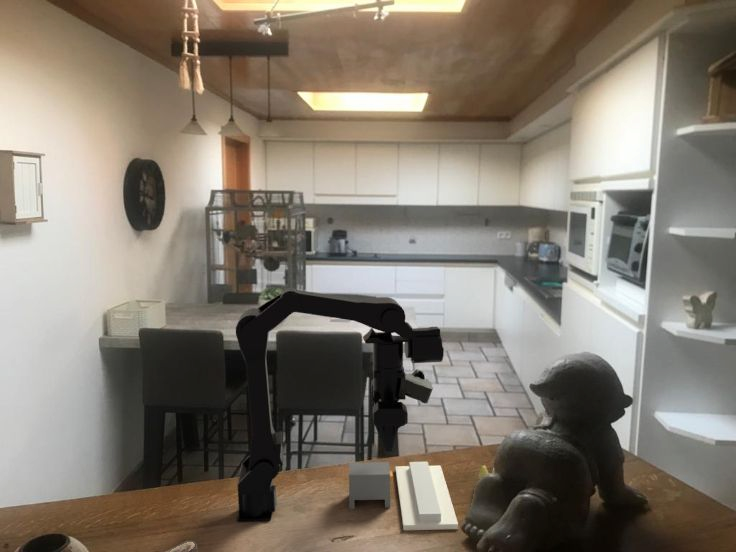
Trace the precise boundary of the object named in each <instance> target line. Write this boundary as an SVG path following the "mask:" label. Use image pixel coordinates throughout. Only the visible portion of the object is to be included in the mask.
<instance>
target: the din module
mask: <svg viewBox="0 0 736 552" xmlns="http://www.w3.org/2000/svg"><path fill="white" fill-rule="evenodd" d="M390 469H391V468H390V463H389V461H381V462H379V461H375V462H374V461H370V462H367V461H366V462H349V463H348V495H349V497H348V501H349V505H348V506H349V509H350V510H351V509H353V510H354V509H355V506H356V505H355V504H356V502H355V501H366V500H367V501H370V500H374V501H375V500H384V508H385V509H390V508H391V485H393V484H394V482H393V481H394V480H393V479H394V477H393V476H394V475H393V471H392V470H390Z"/></svg>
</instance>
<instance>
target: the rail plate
mask: <svg viewBox="0 0 736 552" xmlns="http://www.w3.org/2000/svg"><path fill="white" fill-rule="evenodd" d="M395 477H396V483H397V491H398V492H397V493H398V497H399V499H398V500H399V505H400V506H399V508H400V513H401V514H400V515H401V520H402V528H403V531H428V530H431V531H432V530H435V531H436V530H459V522H458V518H457V516H456V515H457V514H456V513H455V509H454V506H453V502H452V499H451V495H450V492H449V488H448V486H447V482H446V478H445V476H444V473H443V468H442V465H429V462H428V461H409V465H406V466H404V465H403V466H399V465H398V466H395Z"/></svg>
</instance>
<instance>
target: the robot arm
mask: <svg viewBox="0 0 736 552" xmlns="http://www.w3.org/2000/svg"><path fill="white" fill-rule="evenodd" d="M293 313H299V314H306V315H312V316H320V317H326V318H333V319H339V320H346V321H353V322H355V323H360V324H362V325H364V326H366V327H369V328H370V329H369V330H368V332H366V333H365V334H364V335H363V336H362V339H363V341H364V344H365V345H369V344H370V345H371V344H372V346H373V347H372V350H373V351H372V352H373V353H372V357H373V359H372V360H373V361H372V363H373V365H372V376H373V378H372V380H370V381H371V386H370V387H371V388H370V389H371V391H370V392H371V398H372V402H373V404H374V405H373V406H372V422H373V425H374V427H375V429H376V432H377V433H378V435H379V438H380V439H381V442H382V444H383V447H384V449H385V451H386V452H388V453H390V452H391V453H392V451H393V450H394V445H395V442H396V437H397V433H398V430H399V429H400V428H402V427H404V426H406V424H408V421H409V418H408V417H409V415H408V409H407V406H406V405H405V403H403V402H402V401H405V400H406V399H407V398H406V397H408V398H411V399H414V400H417V401H419V402H420V403H423V404H428V402H429V400H430V397H431V395H432V392H433V389H434V386H433V384H432V382H431V381H429V379H428V378H426V377H425V373H424V371H423V370H420V369H418V368H416V369H415V370H414V371H413V372H412V373H406V372H405V367H404V356H405V358H406V359H410V362H411V363H412V364H425V363H427V364H429V363H441V362H443V360H444V353H445V351H444V349H445V348H444V346H443V339H442V336H441V329H440V328H439V327H438V326H429V327H420V328H419V327H418V328H417V327H416V328H413V326H411V325H410V323H409V322H408V321H407V322H406V312H405V310H404V309H403V308H402V306H401V305H400V304H399V303H398V302H397V300H395V299H394V298H392V297H388V296H384V297H382V296H381V297H380V296H377V297H376V296H374V297H371V296H370V297H364V298H351V297H344V296H340V295H332V294H325V293H320V292H313V291H306V290H302V289H301V290H300V289H297V288H295V287H288V288H285V289H284V290H282V292H280V294H278V295H277V296H275V297H273V298H271V299H269V300H268V301H266V302H264V303H263V304H262V305H260V306H259V307H257V308H256V307H255V308H254V307H253V308H249V309H246V310H245V311H244V312H243V313H242V314H241V315H240V316H239V318H238V321H237V324H236V327H235V336H236V339H237V344H238V346H239V347H238V348H239V350H240V352H241V355H242V358H243V359H244V362H245V368H246V369H245V371H246V380H247V381H246V382H247V391H248V403H249V413H250V414H249V415H250V422H251V423H250V424H251V426H250V427H251V442H250V450H249V455H248V456H247V457H246V458H245V459H244V461H242V463H241V465H240V471H239V474H238V475H239V476H238V480H237V499H238V504H237V505H238V513H237V516H236V521H237V522H257V521H258V522H259V521H261V522H263V521H267V522H268V521H271V520H272V517H273V515H274V514H273V513H275V512H276V509H277V504H278V502H277V486H276V485H275V484H274V479H275V478H276V477H277V476H278V475H279V473H280V467H281V466H284V452H285V448H284V446H283V444H282V441H283V440H282V439H283V431H281V430H280V431H278V432H276V431H275V429H274V427H273V423H272V422H273V421H272V420H273V419H272V411H271V408H272V407H271V398H270V385H269V374H268V365H267V363H268V361H267V353H268V345H269V334H270V333H269V332H271V331H273V330H274V329H275V328H277V327H278V325H280V324H281V323H282V322H283V321H285V320H286V319H287V318H288V317H289V316H291V315H292V314H293ZM375 330H376V331H377V332H376V331H375ZM378 331H379V332H378ZM393 334H395V335H393ZM425 378H426V379H425ZM401 400H402V401H401Z"/></svg>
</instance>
